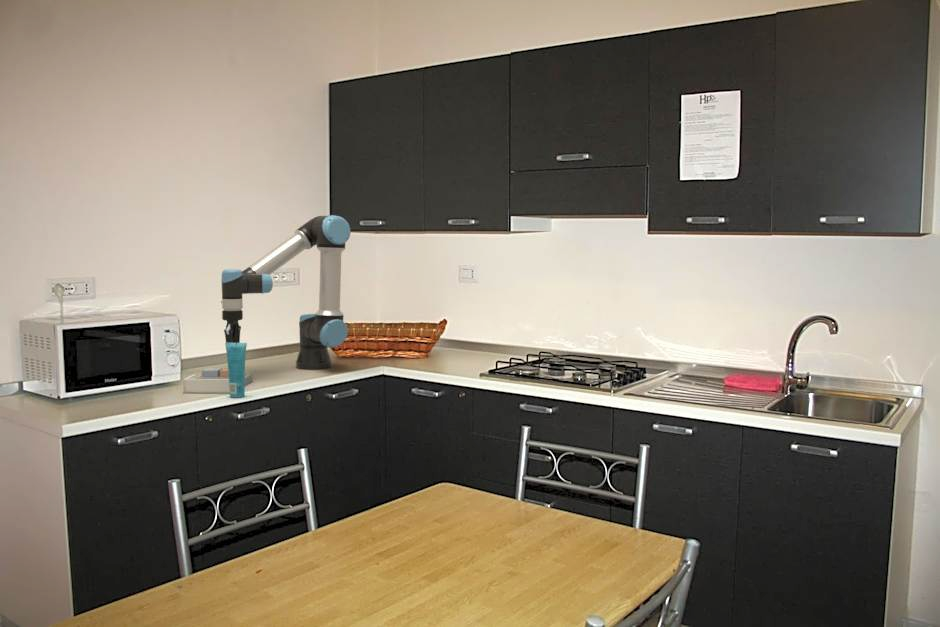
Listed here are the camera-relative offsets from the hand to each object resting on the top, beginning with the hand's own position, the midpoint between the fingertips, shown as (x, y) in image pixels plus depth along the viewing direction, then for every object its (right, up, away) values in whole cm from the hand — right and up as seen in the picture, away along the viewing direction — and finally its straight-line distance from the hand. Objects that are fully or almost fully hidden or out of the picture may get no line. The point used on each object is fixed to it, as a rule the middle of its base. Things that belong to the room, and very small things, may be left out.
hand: (233, 370), depth 314 cm
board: (-2, -5, -6) cm, 8 cm away
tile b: (-7, -2, -4) cm, 8 cm away
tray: (-2, -6, -18) cm, 19 cm away
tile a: (0, -2, -4) cm, 5 cm away
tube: (+9, -8, -28) cm, 30 cm away
